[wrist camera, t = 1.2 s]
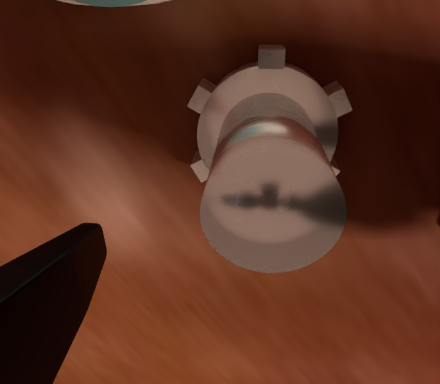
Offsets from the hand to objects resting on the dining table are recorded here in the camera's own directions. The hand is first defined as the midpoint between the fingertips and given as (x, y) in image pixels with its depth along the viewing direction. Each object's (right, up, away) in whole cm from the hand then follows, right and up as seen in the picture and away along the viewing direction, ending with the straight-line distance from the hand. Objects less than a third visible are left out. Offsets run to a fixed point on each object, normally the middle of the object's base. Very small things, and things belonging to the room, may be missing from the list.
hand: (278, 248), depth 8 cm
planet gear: (+1, +4, +7) cm, 9 cm away
